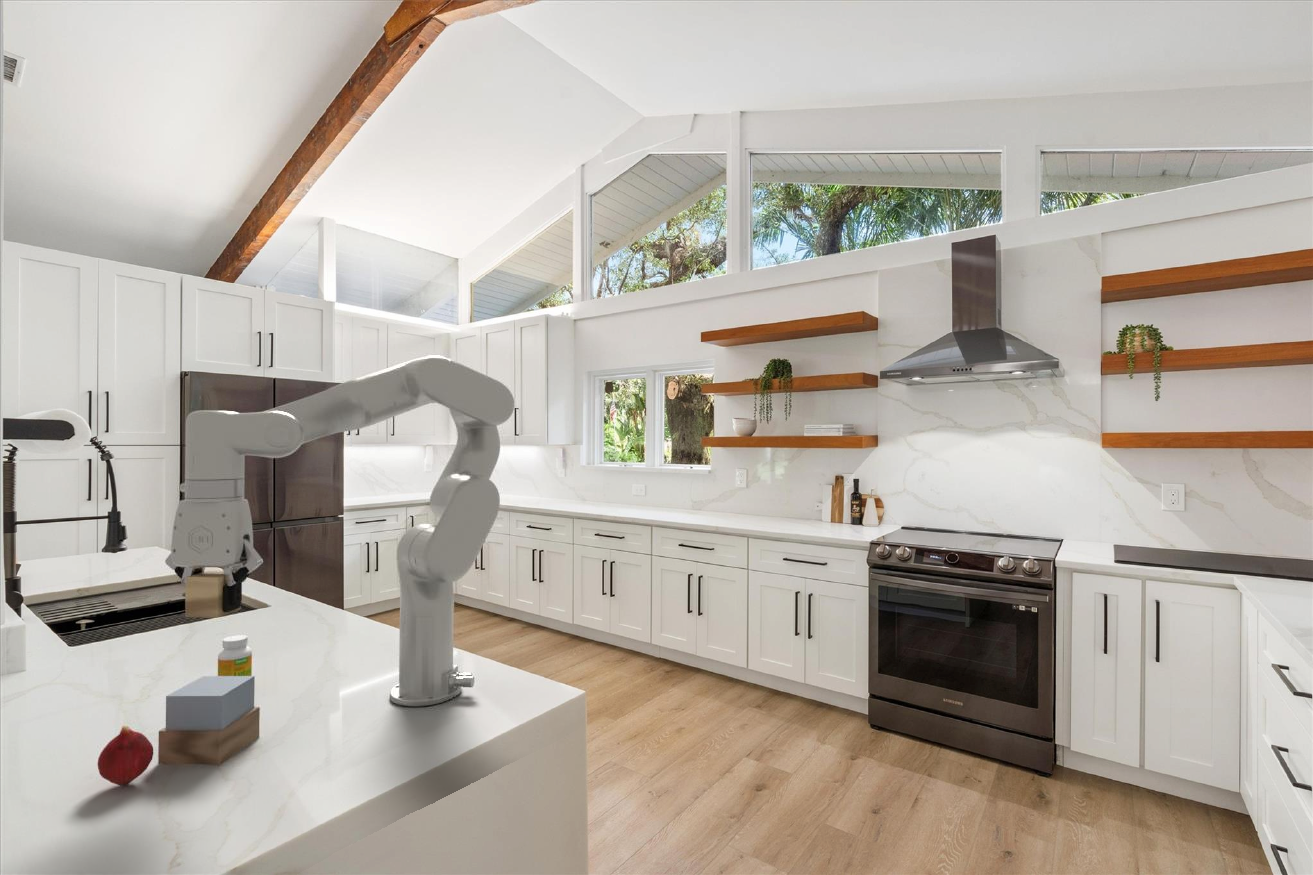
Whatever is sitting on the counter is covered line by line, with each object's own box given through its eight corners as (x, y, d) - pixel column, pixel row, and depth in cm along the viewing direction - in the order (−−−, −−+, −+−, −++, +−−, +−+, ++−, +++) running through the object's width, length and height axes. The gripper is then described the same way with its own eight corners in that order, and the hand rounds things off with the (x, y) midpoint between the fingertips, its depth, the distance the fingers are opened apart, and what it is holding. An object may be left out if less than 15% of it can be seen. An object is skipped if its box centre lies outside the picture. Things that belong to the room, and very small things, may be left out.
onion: (163, 773, 90) (163, 716, 90) (130, 796, 84) (131, 735, 85) (120, 774, 90) (121, 717, 90) (85, 796, 84) (86, 735, 84)
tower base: (259, 738, 102) (259, 707, 102) (218, 767, 93) (218, 732, 93) (204, 737, 102) (204, 705, 102) (158, 765, 93) (158, 731, 93)
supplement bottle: (234, 696, 118) (235, 643, 118) (210, 693, 119) (210, 641, 119) (258, 685, 123) (258, 634, 124) (234, 683, 124) (235, 633, 125)
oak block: (217, 617, 95) (218, 577, 95) (185, 617, 96) (185, 576, 96) (240, 609, 100) (241, 570, 100) (209, 608, 101) (210, 570, 101)
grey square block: (254, 707, 102) (254, 675, 102) (221, 730, 94) (222, 695, 94) (202, 707, 101) (203, 676, 101) (165, 730, 93) (166, 696, 93)
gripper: (141, 492, 95) (139, 615, 95) (252, 493, 94) (251, 617, 94) (180, 488, 102) (179, 602, 102) (284, 489, 102) (283, 604, 101)
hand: (213, 608), depth 98 cm, fingers closed on oak block, 5 cm apart
